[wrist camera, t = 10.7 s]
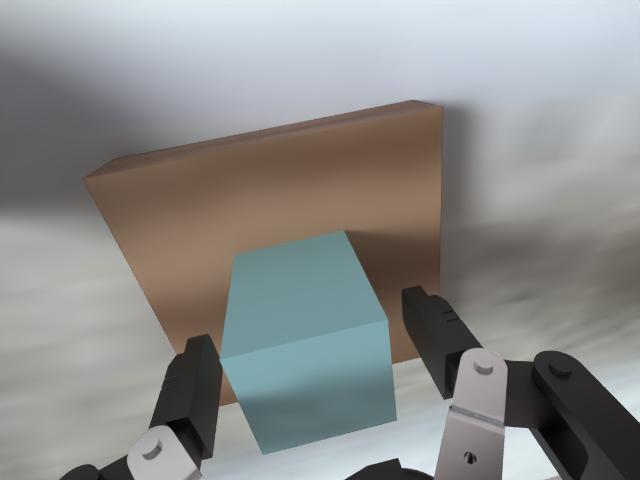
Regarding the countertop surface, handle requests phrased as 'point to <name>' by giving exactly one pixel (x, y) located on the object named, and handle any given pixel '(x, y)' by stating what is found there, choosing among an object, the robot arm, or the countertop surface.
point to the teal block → (306, 343)
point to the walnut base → (280, 211)
